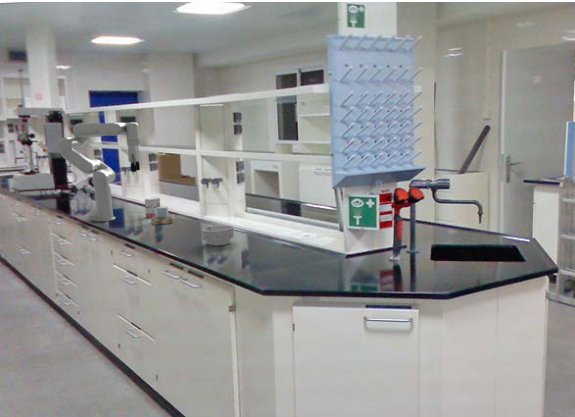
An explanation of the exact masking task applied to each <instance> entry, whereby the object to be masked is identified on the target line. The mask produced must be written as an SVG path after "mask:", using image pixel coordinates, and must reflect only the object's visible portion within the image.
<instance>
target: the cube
mask: <svg viewBox="0 0 575 417" xmlns="http://www.w3.org/2000/svg"><path fill="white" fill-rule="evenodd" d="M157 214H158V217H168V216H169V215H170V214H169V206H160V207H158V208H157Z"/></svg>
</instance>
